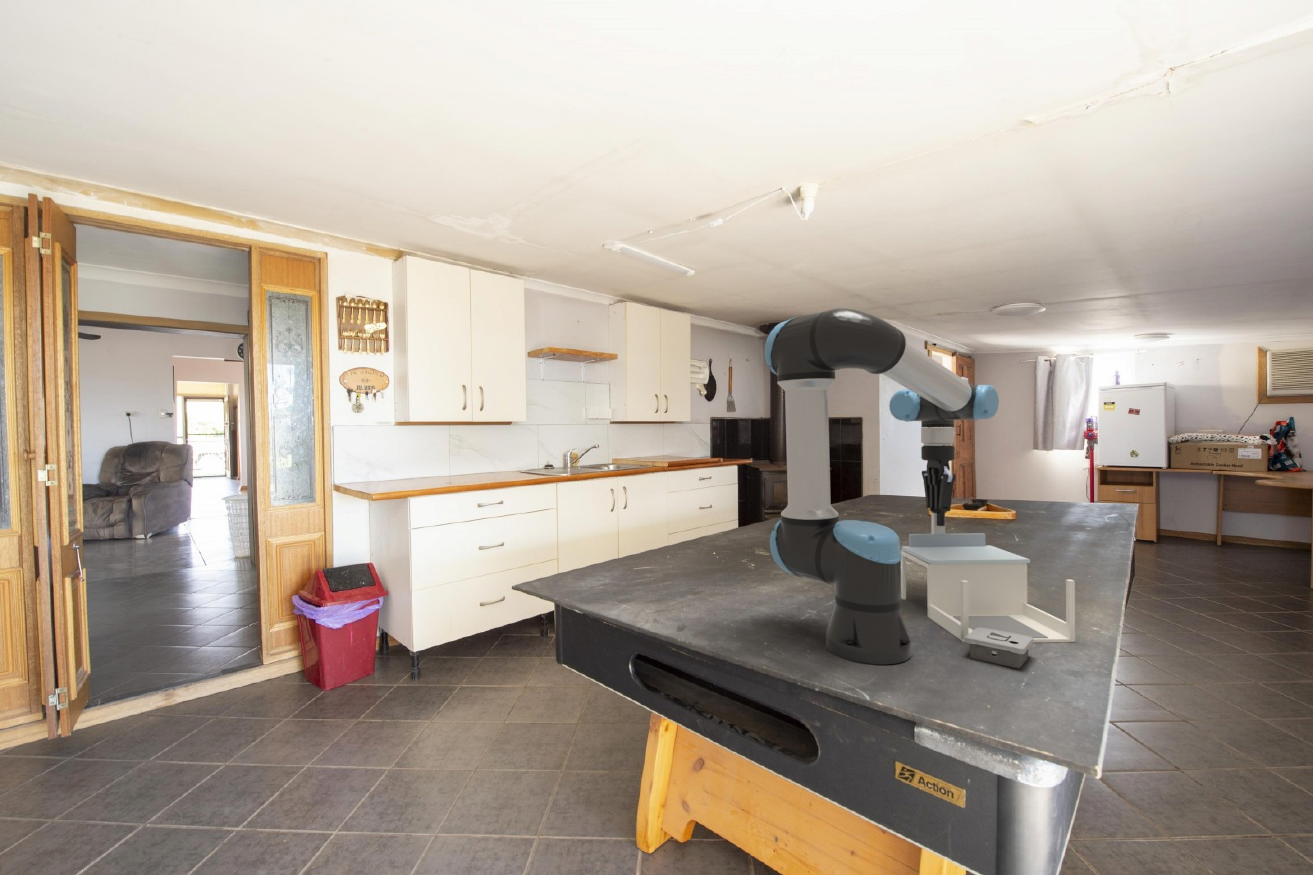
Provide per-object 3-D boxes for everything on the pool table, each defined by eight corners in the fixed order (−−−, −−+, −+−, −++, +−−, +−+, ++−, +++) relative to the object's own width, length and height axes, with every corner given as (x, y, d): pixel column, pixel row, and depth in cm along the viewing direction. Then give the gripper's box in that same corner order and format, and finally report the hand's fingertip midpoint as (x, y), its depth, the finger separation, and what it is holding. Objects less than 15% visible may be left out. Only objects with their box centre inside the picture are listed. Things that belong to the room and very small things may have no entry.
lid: (930, 563, 125) (930, 546, 125) (901, 549, 140) (901, 534, 140) (1029, 563, 124) (1029, 545, 124) (990, 548, 140) (990, 533, 140)
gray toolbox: (1025, 650, 97) (966, 628, 103) (1018, 679, 98) (960, 655, 104) (1036, 637, 104) (980, 618, 110) (1030, 664, 104) (974, 643, 111)
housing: (963, 642, 111) (963, 581, 111) (901, 598, 141) (901, 550, 140) (1075, 642, 111) (1074, 580, 111) (989, 598, 140) (989, 549, 140)
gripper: (966, 445, 137) (967, 543, 137) (940, 443, 150) (940, 533, 150) (935, 445, 137) (935, 543, 137) (911, 444, 150) (911, 533, 150)
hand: (938, 538), depth 143 cm, fingers closed
